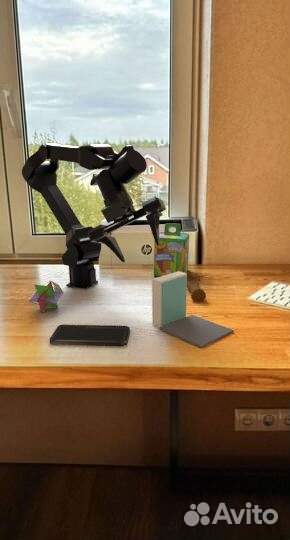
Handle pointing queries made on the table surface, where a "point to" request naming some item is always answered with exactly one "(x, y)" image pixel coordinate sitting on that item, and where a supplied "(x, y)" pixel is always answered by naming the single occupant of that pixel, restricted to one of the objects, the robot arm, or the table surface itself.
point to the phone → (90, 335)
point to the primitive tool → (195, 289)
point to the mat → (196, 330)
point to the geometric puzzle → (47, 295)
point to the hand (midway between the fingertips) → (141, 254)
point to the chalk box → (171, 251)
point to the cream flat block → (169, 298)
